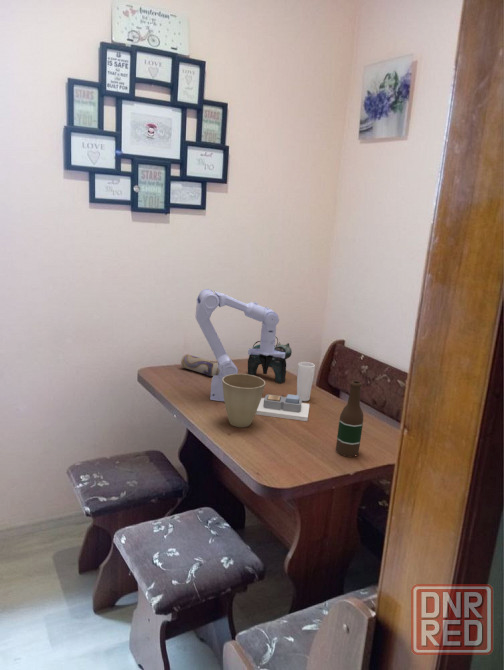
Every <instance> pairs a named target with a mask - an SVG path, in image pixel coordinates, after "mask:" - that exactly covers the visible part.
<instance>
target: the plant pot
mask: <svg viewBox="0 0 504 670" xmlns="http://www.w3.org/2000/svg"><path fill="white" fill-rule="evenodd" d="M222 382H223V395H224V401H223V402H224V405H225V410H226V415H227V418H228V422H229V424H230V425H231V426H233V427H235V428H247V427H249V426H250V425H251V424H252V421H253V419H254V418H255V415H256V414H255V413H256V411H257V409H258V406H259V403H260V401H261V398H263V394H264V389H265V386H266V381H265V380H264V379H263V378H261V377H260V376H256V375H254V376H253V375H248V373H247V374H246V373H238V374H231V375H227V376H225V377H223V379H222Z"/></svg>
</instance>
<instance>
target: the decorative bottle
mask: <svg viewBox="0 0 504 670" xmlns="http://www.w3.org/2000/svg"><path fill="white" fill-rule="evenodd" d="M180 367H182V368H183V369H185V370H186V369H187V370H190V371H193V372H196V373H201V374H203V375H206V376H208V377H211V376H214V375H218V374H219V372H220V370H219V369H218V362H216V361H212V360H209V359H206V358H203V357H202V358H201V357H199V356H195V355H191V354H189V353H187V354H185V355H183V356H182V358H181V360H180Z"/></svg>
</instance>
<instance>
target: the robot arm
mask: <svg viewBox="0 0 504 670" xmlns="http://www.w3.org/2000/svg"><path fill="white" fill-rule="evenodd" d="M225 306H228V307H230V308H233V309H236V310H238V311H241V312H243V313H244V315H245V317H247V318H249V319H253V320H255V321H256V322H257V321H258V322H261V330H260V340H259V341H260V342H259V344H260V349H252V348H248V349H247V350H248V352H247V354H248V355H249V354H255V355H260V356H259V359H260V362H261V364H260V365H261V368H262V374H263V375H267V374H268V370H269V368H270V367H269V365H270V363H271V361H272V359H273V357H281V358H285V352H280V351H275V350H274V348H275V347H276V337H277V336H276V334H277V325H278V324H279V322H280V318H279V315H278V313H277V312H276V311H274V310H273V309H271V308H270V307H267V306H262V305H259V303H258V302H256V301H254V302H252V301H250V302H248V303H246V302H243V301H241V300H238V299H236V298H235V297H232V296H230V295H227V294H226V293H222V292H219V291H217V290H216V291H215V290H214V291H213V290H212V289H209V288H204V289H202V290H201V291H200V292H199V294H198V296H197V298H196V308H195V314H194V315H195V320H196V322H197V324H198V326H199V328H200V330H201V332H202V334H203V335H204V338H205V339H206V341H207V343H208V345H209V347H210V350H211V351H212V353H213V355H214V357H215V361H217V362H216V363H218V369H219V370H220V372H219V374H218V375H214V376H213V377H212V378H211V384H210V396H209V397H210V398H209V400H210V401H218V402H224V395H223V382H222V379H223V377H225V376H227V375H231V374H239V369H238V367H237V365H235V363H234V362H233V360H232V358H231V357H229V355H228V353H227V351H226V349H225V347H224V345H223V343H222V341H221V338H219V335H218V333H217V331H216V329H215V327H214V325H213V323H212V321H211V315H212V314H213V312H215V310H217V308H221V307H225ZM275 336H276V337H275Z"/></svg>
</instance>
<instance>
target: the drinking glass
mask: <svg viewBox="0 0 504 670" xmlns="http://www.w3.org/2000/svg"><path fill="white" fill-rule="evenodd" d="M315 368H316V365H315V364H314V363H313V362H308V361H300V362H298V363H297V370H296V371H297V374H296V375H297V376H296V395H298V396H299V398H300V399H301V400H302V402H308V401H309V400H310V398H311V393H312V387H313V382H314V378H315V372H316V371H315V370H316V369H315Z"/></svg>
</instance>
